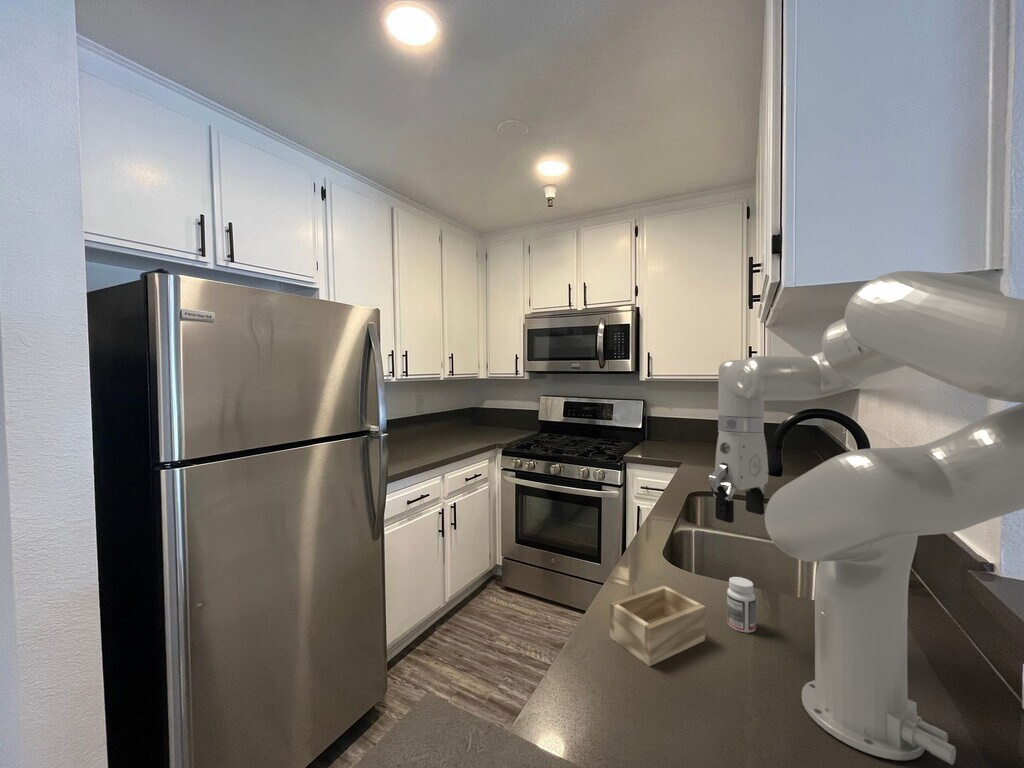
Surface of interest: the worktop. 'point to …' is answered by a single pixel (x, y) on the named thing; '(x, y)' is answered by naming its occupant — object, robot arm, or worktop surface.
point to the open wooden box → (657, 624)
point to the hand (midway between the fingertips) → (740, 516)
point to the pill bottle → (741, 605)
